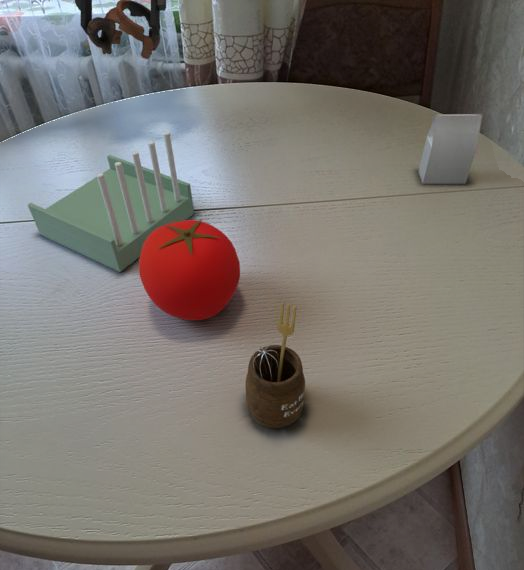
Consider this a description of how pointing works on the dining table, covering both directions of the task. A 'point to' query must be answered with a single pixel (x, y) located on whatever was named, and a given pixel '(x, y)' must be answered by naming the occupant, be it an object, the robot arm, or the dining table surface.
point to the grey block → (450, 148)
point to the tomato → (189, 269)
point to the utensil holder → (276, 380)
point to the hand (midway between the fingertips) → (120, 30)
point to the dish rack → (117, 210)
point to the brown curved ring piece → (123, 28)
